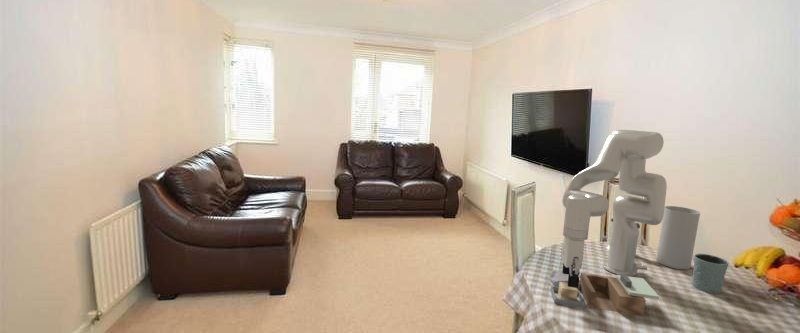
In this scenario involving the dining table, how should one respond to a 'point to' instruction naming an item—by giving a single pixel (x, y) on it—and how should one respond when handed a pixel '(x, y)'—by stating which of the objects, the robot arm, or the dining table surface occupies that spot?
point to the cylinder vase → (677, 237)
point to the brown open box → (609, 295)
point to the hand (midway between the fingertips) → (569, 280)
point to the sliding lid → (637, 286)
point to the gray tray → (567, 302)
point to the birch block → (567, 292)
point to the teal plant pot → (709, 272)
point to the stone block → (560, 278)
